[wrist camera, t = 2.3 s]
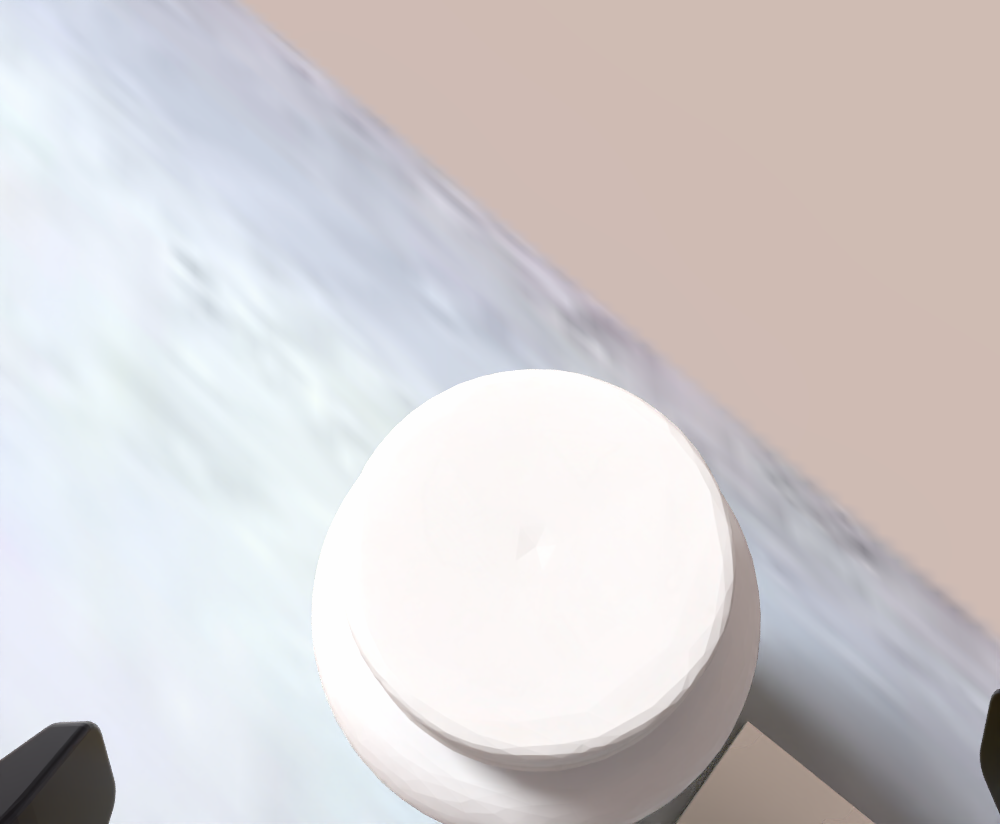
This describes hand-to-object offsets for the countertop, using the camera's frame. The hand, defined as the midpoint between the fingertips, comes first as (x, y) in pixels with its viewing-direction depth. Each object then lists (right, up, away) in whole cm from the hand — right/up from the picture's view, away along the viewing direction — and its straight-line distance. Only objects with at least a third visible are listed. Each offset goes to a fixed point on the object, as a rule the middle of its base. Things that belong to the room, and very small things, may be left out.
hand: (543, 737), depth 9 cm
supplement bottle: (0, -2, +9) cm, 10 cm away
